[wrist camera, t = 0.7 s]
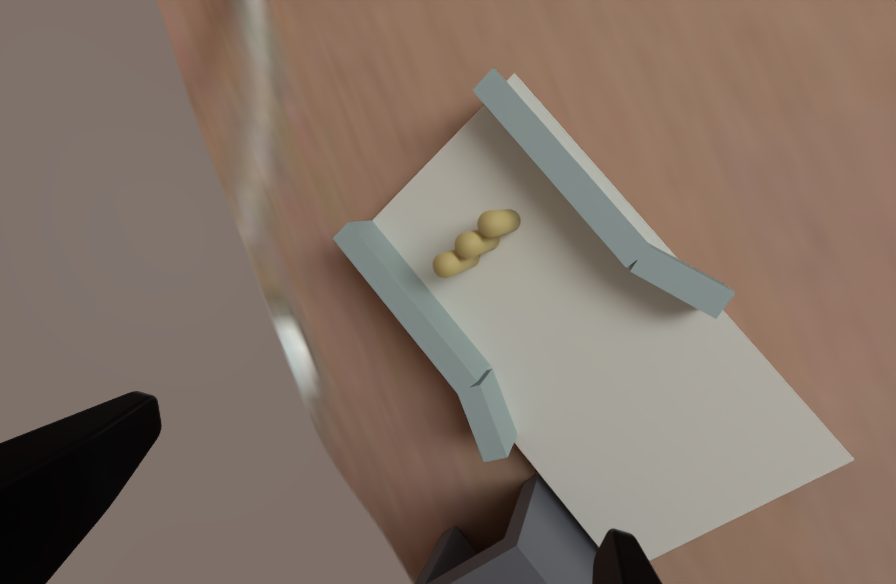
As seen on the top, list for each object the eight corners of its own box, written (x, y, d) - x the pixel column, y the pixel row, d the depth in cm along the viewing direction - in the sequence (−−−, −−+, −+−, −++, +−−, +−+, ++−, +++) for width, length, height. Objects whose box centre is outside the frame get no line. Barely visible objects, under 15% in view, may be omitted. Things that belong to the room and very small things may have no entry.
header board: (856, 435, 18) (923, 501, 14) (610, 560, 21) (607, 640, 18) (531, 69, 19) (508, 34, 15) (357, 247, 23) (303, 256, 19)
